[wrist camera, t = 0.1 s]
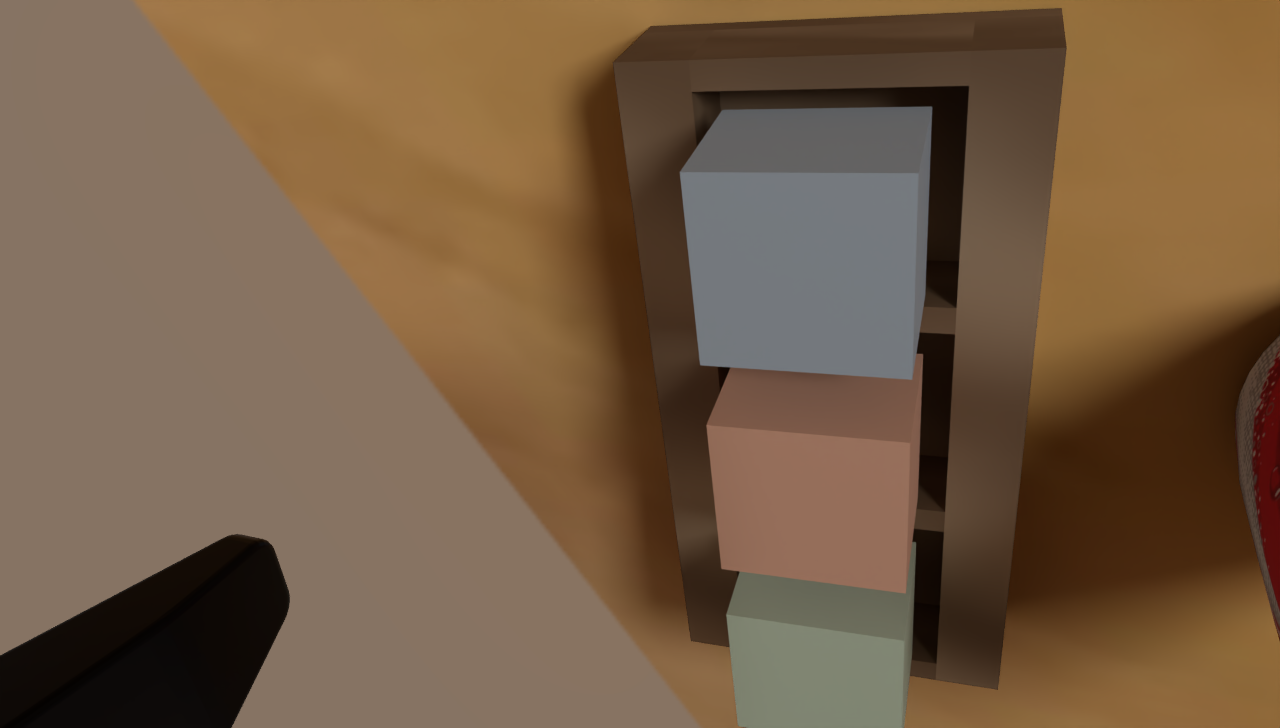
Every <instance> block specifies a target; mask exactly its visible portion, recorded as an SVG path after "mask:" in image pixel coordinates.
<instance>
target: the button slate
mask: <svg viewBox="0 0 1280 728" xmlns="http://www.w3.org/2000/svg"><path fill="white" fill-rule="evenodd" d="M931 125H932V107H870V108H807V109H743V110H722V111H721V113H720V114H719V116H718V117H717V119H716V120H715V121H714V123H713V124H712V126H711V127H710V129H709V130H708V132H707V133H706V135H705V136H704V138H703V139H702V140H701V142H700V143H699V145H698V146H697V148H696V149H695V151H694V152H693V154H692V155H691V157H690V158H689V159H688V161H687V162H686V164H685V165H684V167H683V168H682V170H681V171H680V179H681V189H682V198H683V208H684V217H685V227H686V236H687V246H688V255H689V265H690V274H691V284H692V293H693V303H694V312H695V322H696V331H697V341H698V350H699V360H700V365H703V366H718V367H732V368H747V369H762V370H776V371H791V372H806V373H821V374H835V375H850V376H865V377H880V378H894V379H909V380H912V378H913V372H914V365H915V359H916V352H917V346H918V339H919V333H920V326H921V320H922V313H923V307H924V300H925V288H926V261H927V234H928V207H929V180H930V152H931Z"/></svg>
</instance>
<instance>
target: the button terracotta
mask: <svg viewBox="0 0 1280 728" xmlns="http://www.w3.org/2000/svg"><path fill="white" fill-rule="evenodd" d="M922 370H923V354H916V359H915V365H914V372H913V378H912V380H909V379H894V378H880V377H865V376H850V375H835V374H821V373H806V372H791V371H776V370H762V369H747V368H732V367H731V368H730V370H729V372H728V375H727V377H726V380H725V382H724V384H723V387H722V389H721V391H720V394H719V396H718V399H717V401H716V403H715V406H714V408H713V411H712V413H711V415H710V418H709V420H708V423H707V425H706V426H707V436H708V445H709V455H710V464H711V474H712V483H713V493H714V502H715V512H716V521H717V531H718V540H719V550H720V559H721V568H722V569H725V570H733V571H740V572H748V573H755V574H763V575H770V576H778V577H785V578H793V579H800V580H807V581H815V582H822V583H830V584H837V585H845V586H852V587H860V588H867V589H875V590H882V591H890V592H897V593H905V594H906V588H907V580H908V572H909V564H910V556H911V548H912V540H913V532H914V524H915V516H916V508H917V500H918V479H919V452H920V424H921V397H922Z"/></svg>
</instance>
